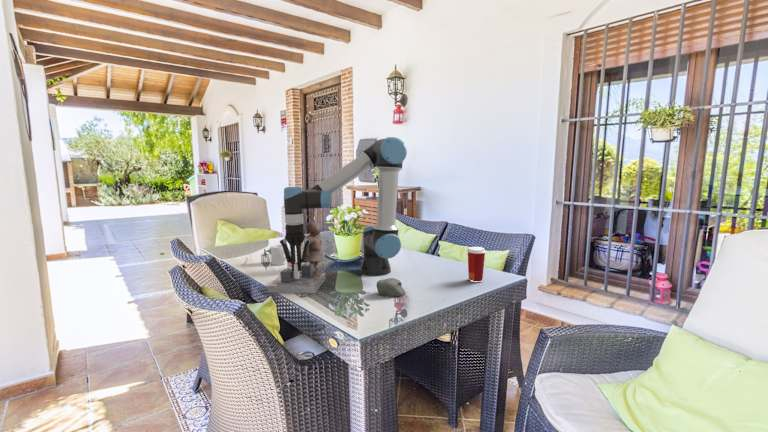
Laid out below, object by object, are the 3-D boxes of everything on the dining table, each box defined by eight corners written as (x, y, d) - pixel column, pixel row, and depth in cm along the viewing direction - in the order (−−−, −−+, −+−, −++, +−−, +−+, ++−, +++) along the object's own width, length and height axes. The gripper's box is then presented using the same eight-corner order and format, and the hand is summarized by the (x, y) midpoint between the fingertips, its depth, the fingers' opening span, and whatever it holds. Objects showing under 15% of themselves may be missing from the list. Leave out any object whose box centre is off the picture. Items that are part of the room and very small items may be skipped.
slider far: (313, 273, 175) (313, 261, 174) (310, 277, 170) (310, 264, 169) (305, 273, 175) (304, 261, 174) (301, 276, 170) (301, 264, 169)
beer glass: (486, 279, 175) (487, 247, 173) (483, 284, 168) (483, 251, 166) (468, 277, 178) (468, 245, 177) (464, 282, 171) (464, 249, 169)
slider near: (294, 280, 165) (293, 267, 165) (290, 283, 160) (289, 270, 160) (285, 280, 166) (284, 267, 165) (281, 283, 161) (280, 270, 160)
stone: (403, 298, 150) (391, 276, 150) (384, 307, 152) (372, 285, 152) (407, 291, 159) (396, 270, 159) (388, 299, 161) (378, 278, 161)
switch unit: (325, 279, 177) (325, 270, 177) (314, 293, 158) (314, 284, 157) (283, 278, 179) (283, 270, 178) (267, 292, 159) (267, 283, 158)
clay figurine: (314, 274, 186) (312, 223, 183) (297, 272, 190) (295, 222, 187) (328, 267, 198) (327, 220, 195) (312, 265, 202) (310, 219, 199)
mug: (286, 266, 200) (286, 248, 199) (268, 264, 205) (267, 246, 204) (296, 263, 208) (295, 245, 206) (278, 261, 212) (277, 244, 211)
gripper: (312, 222, 163) (314, 275, 166) (282, 222, 164) (285, 275, 167) (307, 224, 156) (309, 280, 159) (276, 225, 156) (279, 280, 160)
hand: (297, 278), depth 163 cm, fingers closed
